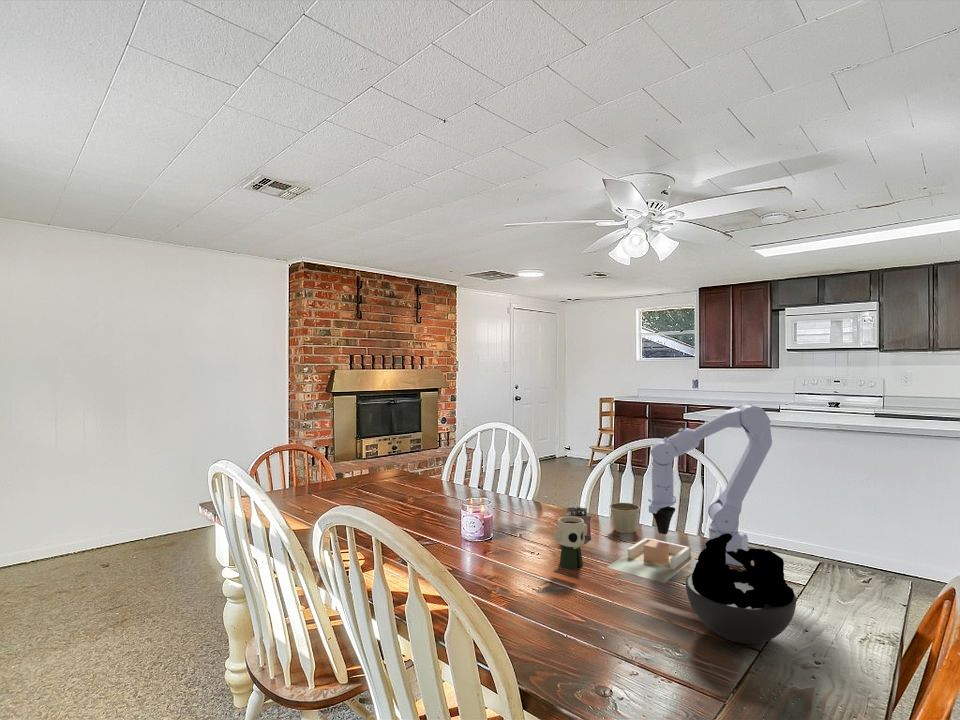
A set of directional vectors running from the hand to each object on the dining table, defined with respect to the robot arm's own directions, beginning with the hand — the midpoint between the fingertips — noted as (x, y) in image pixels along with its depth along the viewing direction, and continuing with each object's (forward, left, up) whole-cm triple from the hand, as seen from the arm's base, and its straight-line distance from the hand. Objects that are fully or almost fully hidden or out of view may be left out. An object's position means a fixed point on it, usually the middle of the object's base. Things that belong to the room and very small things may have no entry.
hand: (663, 533), depth 152 cm
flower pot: (+18, -13, -7) cm, 23 cm away
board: (0, +8, -7) cm, 11 cm away
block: (0, +5, -6) cm, 8 cm away
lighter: (+27, +1, -7) cm, 28 cm away
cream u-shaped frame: (0, +3, -6) cm, 7 cm away
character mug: (+16, +23, -7) cm, 29 cm away
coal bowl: (-29, +33, -7) cm, 45 cm away
